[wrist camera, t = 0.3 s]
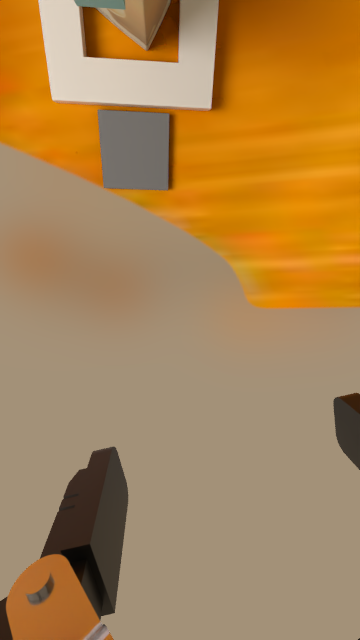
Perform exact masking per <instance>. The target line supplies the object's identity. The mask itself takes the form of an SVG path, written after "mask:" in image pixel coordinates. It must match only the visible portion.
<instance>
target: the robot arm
mask: <svg viewBox="0 0 360 640" xmlns="http://www.w3.org/2000/svg"><path fill="white" fill-rule="evenodd" d="M334 415H335V427H336V436H337V440H338V443H339V445H340V447H341V449H342V450H343V452H344V453H345V454H346V455H347V456H348V458H349V459H350V460H351V461H352V462H353V463H354V464H355V465H356V466H357V467H358V468H359V470H360V394H358V393H354V394H350V395H345V396H340V397H337V398H335V399H334ZM127 506H128V489H127V483H126V479H125V476H124V472H123V469H122V466H121V462H120V459H119V456H118V452H117V450H116V448H115V447H110V448H106V449H101V450H97V451H93V453H92V455H91V458H90V461H89V464H88V467H87V468H86V469H82V470H79V471H78V472H77V474H76V475H75V476H74V477H73V479H72V480H71V481H70V482H69V484H68V486H67V489H66V492H65V494H64V499H63V500H62V502H61V505H60V507H59V512H58V513H57V515H56V518H55V520H54V523H53V526H52V528H51V531H50V534H49V536H48V539H47V541H46V544H45V546H44V549H43V552H42V554H41V557H40V559H39V560H37V561H36V562H34V563H33V564H31V565H30V566H29V567H28V568H27V569H26V570H25V571H24V572H23V573H22V574H21V575H20V576H19V578H18V579H17V580H16V582H15V583H14V585H13V587H12V588H11V590H10V593H9V595H8V597H6V598H4V599H3V600H2V601H0V640H113V638H112V636H111V635H110V632H109V631H108V629H107V627H106V626H105V625H102V624H101V622H100V619H101V616H104V615H108V614H112V613H115V605H116V597H117V589H118V581H119V571H120V564H121V556H122V547H123V539H124V530H125V522H126V513H127ZM358 640H360V638H359V639H358Z"/></svg>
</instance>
